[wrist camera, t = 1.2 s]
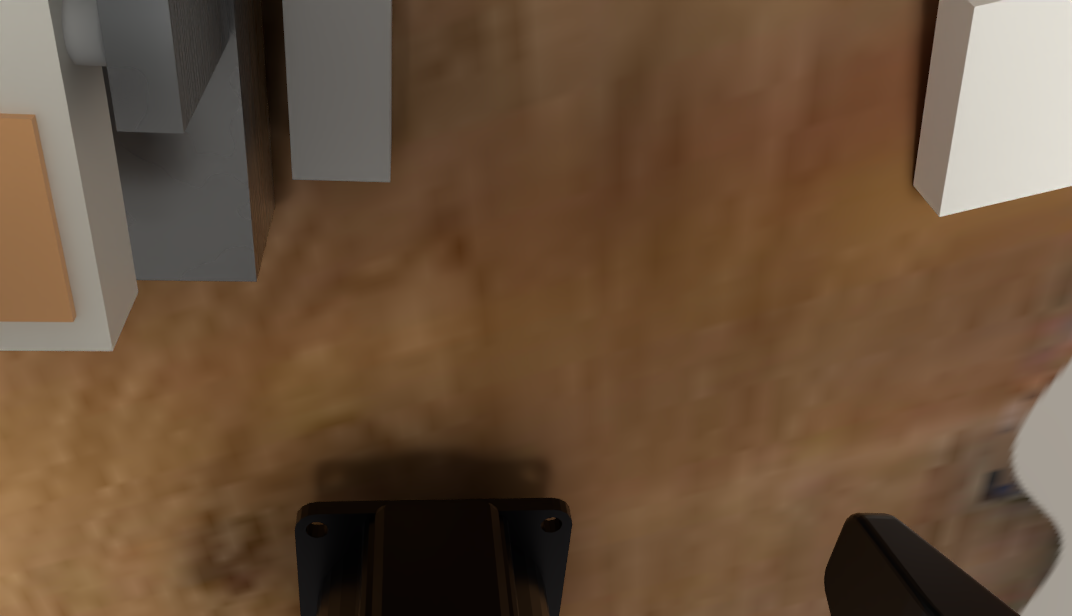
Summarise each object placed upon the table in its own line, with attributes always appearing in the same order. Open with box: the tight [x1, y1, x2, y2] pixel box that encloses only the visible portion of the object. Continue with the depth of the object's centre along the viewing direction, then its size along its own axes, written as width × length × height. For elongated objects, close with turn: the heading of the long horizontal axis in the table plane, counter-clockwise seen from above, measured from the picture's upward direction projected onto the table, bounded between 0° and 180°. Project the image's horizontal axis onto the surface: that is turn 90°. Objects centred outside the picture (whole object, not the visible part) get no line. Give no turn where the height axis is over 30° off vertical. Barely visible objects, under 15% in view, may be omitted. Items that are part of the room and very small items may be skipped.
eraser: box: [913, 0, 1072, 217], centre depth 20 cm, size 1×5×4 cm
